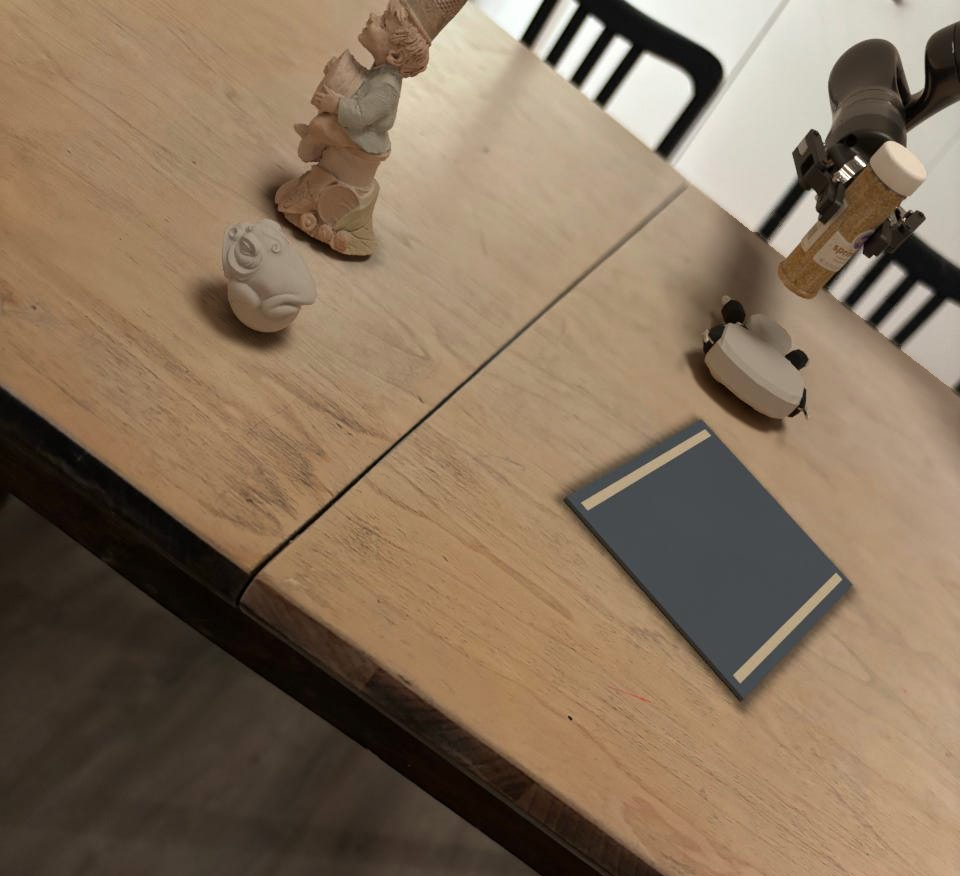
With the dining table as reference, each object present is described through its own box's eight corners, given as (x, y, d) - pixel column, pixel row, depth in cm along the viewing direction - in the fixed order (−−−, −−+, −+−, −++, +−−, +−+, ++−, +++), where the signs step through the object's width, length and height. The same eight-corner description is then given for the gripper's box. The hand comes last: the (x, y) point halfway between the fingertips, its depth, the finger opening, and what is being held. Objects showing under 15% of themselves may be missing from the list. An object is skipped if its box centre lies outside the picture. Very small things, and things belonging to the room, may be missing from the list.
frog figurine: (227, 270, 70) (255, 188, 65) (312, 326, 71) (346, 249, 66) (185, 310, 66) (211, 226, 61) (276, 369, 67) (309, 291, 62)
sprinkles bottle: (802, 306, 88) (919, 181, 78) (767, 270, 89) (879, 141, 79) (820, 295, 91) (936, 173, 81) (786, 260, 92) (897, 134, 82)
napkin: (698, 421, 89) (701, 418, 89) (849, 587, 87) (853, 584, 86) (563, 499, 74) (566, 496, 74) (740, 701, 72) (744, 698, 72)
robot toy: (702, 312, 102) (678, 372, 91) (731, 277, 99) (709, 335, 88) (794, 382, 103) (780, 450, 93) (825, 350, 100) (815, 416, 90)
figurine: (378, 214, 82) (489, -24, 67) (370, 275, 77) (487, 33, 63) (276, 166, 79) (369, -95, 64) (260, 227, 74) (357, -41, 59)
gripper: (833, 72, 90) (817, 141, 79) (952, 165, 92) (952, 245, 81) (778, 143, 95) (756, 217, 84) (891, 230, 98) (884, 312, 87)
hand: (852, 230), depth 83 cm, fingers closed on sprinkles bottle, 4 cm apart
